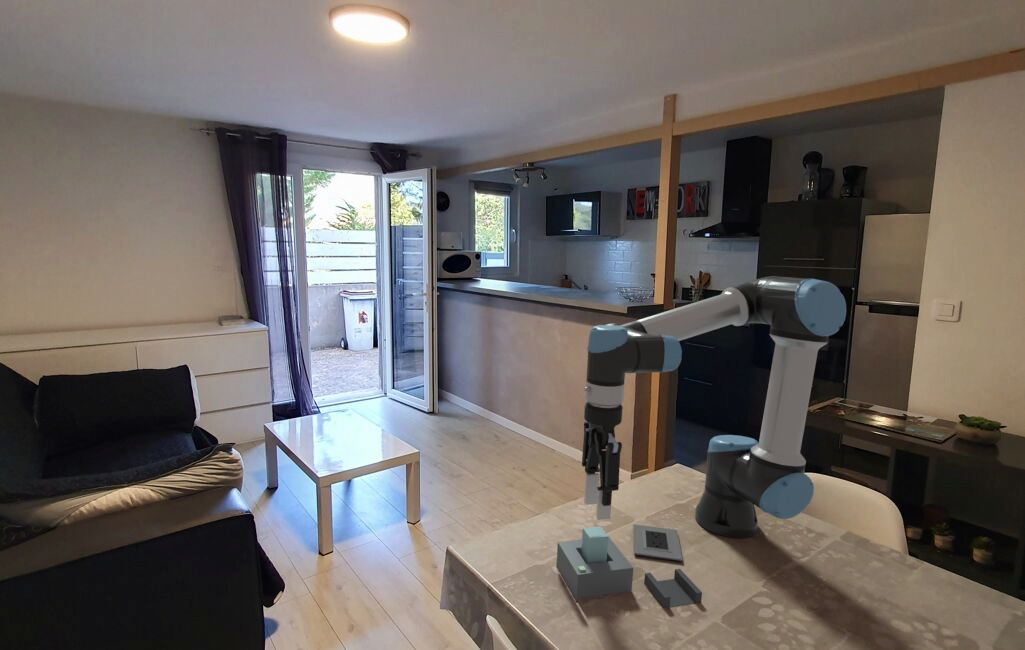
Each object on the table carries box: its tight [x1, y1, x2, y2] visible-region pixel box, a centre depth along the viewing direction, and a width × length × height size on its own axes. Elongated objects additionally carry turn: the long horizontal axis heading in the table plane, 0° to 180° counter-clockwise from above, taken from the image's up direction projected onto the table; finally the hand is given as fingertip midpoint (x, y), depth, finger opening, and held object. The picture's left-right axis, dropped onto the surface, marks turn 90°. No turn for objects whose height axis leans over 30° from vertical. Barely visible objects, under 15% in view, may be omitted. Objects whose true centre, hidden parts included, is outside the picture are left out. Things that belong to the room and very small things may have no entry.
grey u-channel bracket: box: [643, 568, 703, 609], centre depth 109 cm, size 8×8×3 cm
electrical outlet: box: [632, 523, 684, 563], centre depth 127 cm, size 13×10×2 cm
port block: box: [556, 535, 634, 603], centre depth 113 cm, size 12×12×6 cm
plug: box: [581, 526, 609, 564], centre depth 113 cm, size 4×4×10 cm
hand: (596, 510), depth 111 cm, fingers open, 6 cm apart
